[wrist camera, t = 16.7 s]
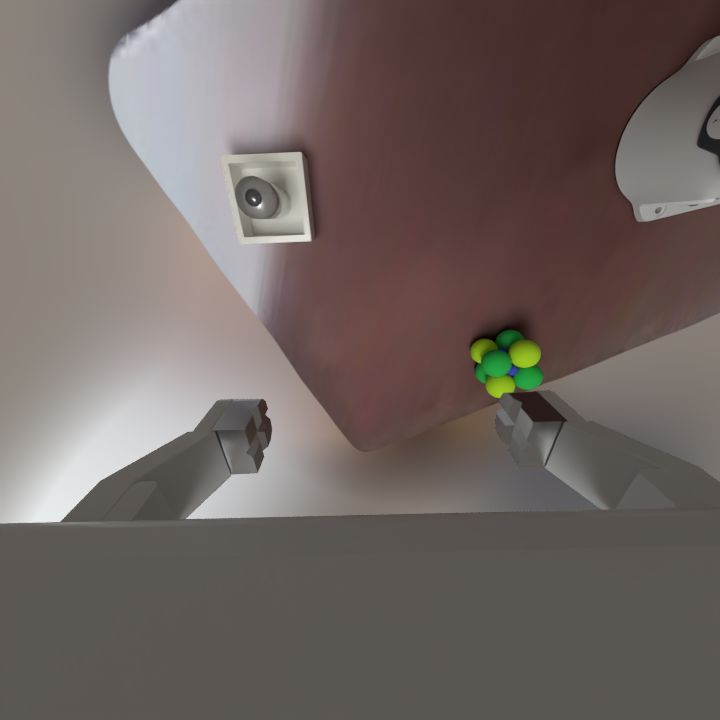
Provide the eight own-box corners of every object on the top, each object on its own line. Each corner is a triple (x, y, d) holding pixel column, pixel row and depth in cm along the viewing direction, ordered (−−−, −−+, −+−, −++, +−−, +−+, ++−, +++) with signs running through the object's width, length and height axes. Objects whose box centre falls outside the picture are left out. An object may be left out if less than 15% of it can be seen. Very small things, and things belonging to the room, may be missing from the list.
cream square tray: (307, 159, 36) (301, 151, 32) (315, 238, 40) (311, 241, 36) (234, 162, 36) (219, 155, 32) (250, 241, 40) (239, 244, 36)
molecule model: (514, 322, 47) (464, 340, 48) (546, 342, 39) (486, 363, 40) (519, 363, 51) (473, 378, 52) (550, 389, 43) (495, 406, 44)
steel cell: (288, 185, 37) (267, 174, 28) (293, 218, 38) (275, 218, 30) (259, 186, 37) (228, 175, 28) (264, 220, 38) (238, 219, 29)
